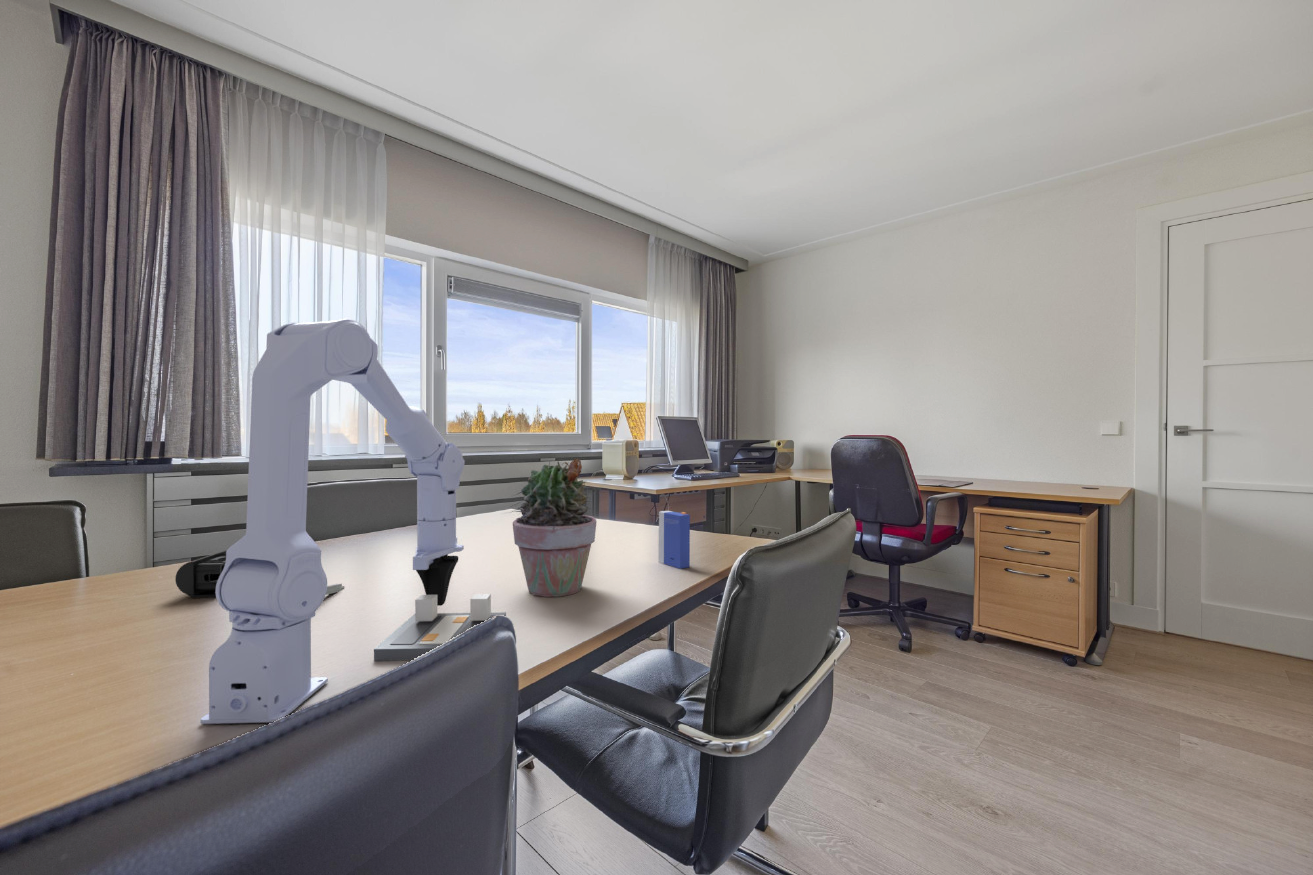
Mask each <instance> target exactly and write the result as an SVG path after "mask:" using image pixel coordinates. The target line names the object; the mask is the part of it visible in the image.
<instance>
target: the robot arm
mask: <svg viewBox="0 0 1313 875" xmlns="http://www.w3.org/2000/svg"><path fill="white" fill-rule="evenodd" d="M265 347H266V348H265V351H264V353H263V354H262V356H261V358H260V359H259V361H258V362H257V365H256V367H255V368H254V370H253V372H252V373H253V374H252V378H251V399H250V400H251V402H250V403H251V404H250V405H251V406H250V426H249V427H250V428H249V429H250V430H249V451H248V452H249V457H248V476H247V477H248V478H247V503H246V504H247V506H246V525H245V526H246V528H245V529H246V530H245V532H246V533H245V534H244V535H243V537H241V538H240V539H239V540H237V541H236V542H235V543H233V544H232V545H231V546H229V548H227V549H226V550H227V551H226V563H225V566H224V569H223V571H222V573H221V575H220V577H219V578H218V581H217V584H216V598H215V599H216V600H217V601H216V602H217V603H218V605H219V606H220V607H221V608H222V609H224V610H225V611H226V612H228V616H229V617H228V619H229V620H228V622H230V623H231V625H232V628H231V632H230V635H229V636H228V638H227V639H226V641H225V642H223V643H222V644H221V645H220V646H218V647H217V649H216V650H215V651H214V652H213V654H212V655H211V658H210V660H209V664H208V713H207V714H205V715H204V716H202V717H201V718H200V724H202V725H208V724H209V725H211V724H214V725H215V724H216V725H218V724H254V723H258V724H260V723H261V724H263V723H273V722H272V721H276V720H278V719H280V718H282V717H285V716H286V715H287V716H288V715H289V714H291V713H292V712H294V711H295V710H296V709H297V708H298V707H299V706H300V705H302V704H303V703H304V702H305V701H306V700H307V699H309V698H310V697H311V696H312V695H313V694H314V693H316V692H317V691H319V689H320V688H322V687H323V686H324V685H325V684H326V683H328V682H329V681H328V677H325V676H323V677H322V676H321V677H315V676H314V677H312V618H315V617H316V612H317V611H318V609H319V608H320V607H321V606H322V603H323V602H324V599H325V597H326V596H327V595H326V591H327V586H328V577H327V574H326V572H325V570H324V568H323V564H322V549H321V548H320V547H319V545H318V544H317V543H316V541H314V539H313V538H312V537H311V535H309V533H308V532H307V530H306V529H307V507H308V506H307V505H308V480H309V479H308V477H309V454H310V453H309V450H310V428H311V427H310V424H311V423H310V422H311V397H312V395H313V394H315V393H316V392H317V391H319V390H320V389H321V388H323V387H324V386H325V385H327V384H328V383H330V382H332V381H338V382H342V383H347V384H349V385H351V386H352V387H354V389H356V390H357V392H358V393H359V394H360V395H361V396H362V397H363V398H364V399H365V400H366V401H367V402H368V403H369V404H370V405H371V406H372V407H373V408H374V409H375V410H376V411H377V412H378V413H379V414H380V415H381V416H382V417H384V419H385V420H386V424H385V432H386V435H388V437H390V438H391V440H392V441H394V443H395V444H396V445H397V446H398V448H400V450H401V451H402V452H403V453H404V457H405V458H406V461H407V468H408V471H409V473H410V474H411V475H412V476H414V477H415V478H416V482H417V483H416V501H417V503H416V506H417V507H416V510H417V511H416V517H417V518H416V519H417V520H416V521H417V522H416V536H417V537H416V547H415V555H413V557H412V571H416V573H417V575H418V576H419V578H420V580H421V582H422V585H423V586H422V587H423V588H424V592H425V593H424V594H425V595H437V607H438V606H439V607H441V606H444V604H446V599H447V596H448V590H449V587H450V582H451V579H452V574H453V572H454V570H455V567H456V565H457V564H458V562H459V555H449V554H452V553H457V552H462V551H463V550H464V546H465V545H464V544H458V537H457V490H458V489H459V486H460V484H461V483H460V480H461V476H462V473H463V471H464V468H465V459H464V456H463V453H462V451H461V449H460V448H459V447H457V446H456V444H454V443H451V442H447V441H446V440H445V438H444V437H443V436H442V434H441V433H440V432H439V431H438V430H437V428H436V427H435V426H434V424H433V423H432V422H431V420H430V419H429V418H428V417H427V416H428V414H427V413H426V411H425V410H424V409H421V408H419V407H418V406H417V407H416V406H409V405H408V403H407V402H406V401H405V399H404V398H403V396H402V394H401V393H400V391H399V390H398V388H397V387H396V385H395V383H394V382H393V381H392V379H391V378H390V376H389V375H388V373H387V372H386V370H385V369H384V367H383V365H381V363H380V361H379V360H378V355H379V354H378V353H379V350H378V349H379V346H378V344H377V343H376V342H375V340H373V339H372V337H371V336H370V334H369V332H368V330H367V329H366V328H365V326H364V325H362V323H360V322H359V321H357V320H354V319H351V318H342V319H339V320H338V319H337V320H328V321H315V322H302V323H301V322H288V323H285V324H283V325H280V326H279V327H278V328H276V329H274V330H272V331H270V332H268V333H266V346H265ZM287 716H286V717H287ZM286 717H285V718H286Z"/></svg>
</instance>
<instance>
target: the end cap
mask: <svg viewBox="0 0 1313 875" xmlns="http://www.w3.org/2000/svg"><path fill="white" fill-rule="evenodd" d="M227 550H228V549H225V550H222V551H218V552H215V553H213V554H209V555H206V556H204V557H201V558H197V559H194V560H191V561H188V562H186V563H184V564H182V565H181V566H180V567H179V568H178V569H177V571H176V574H175V580H174V581H175V584H176V586H177V588H178V590H179V591H180V592H181V593H183V594H185V595H187V596H189V597H190V598H191V599H217V598H216V584H217V581H218V578H219V577H220V575H221V573H222V571H223V569H224V566H225V563H226V551H227Z"/></svg>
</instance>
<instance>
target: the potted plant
mask: <svg viewBox="0 0 1313 875" xmlns="http://www.w3.org/2000/svg"><path fill="white" fill-rule="evenodd" d="M564 464H565V466H564V467H562V465H564ZM582 467H583V466H582V461H581V460H580V459H577V458H575V459H573V460H572V461H571V462H570V463H569V462H568V461H565V462H563V463H562V464H560V461H557V465H550V464H549V465H547V464H544V465H542V467H541V470H539V471H537V470H534V469H532V470H531V472H530V476H529V477H528V480H527V484H526V485H525V486H523V488H522V489H521V491H519V492H518V493H515V494H513V495H512V497H514V496H516V495H519V494H522V495H523V496H524V497H523V499H524V500H521V501H519V502H518V503H515V504H513V505H512V506H510V508H511V507H514V506H517V505H518V504H520V503H521V504H520V507H518V508H516V509H514V510H512V511H510V512H507V514H509V513H510V514H511V513H512V512H513V513H514V512H515V513H519V514H518V515H517V516H519V515H520V514H521V516H519V517H517V518H515V519H514V520H513V521H512V531H513V541H514V545H516V546H517V548H518V552H519V555H520V559H521V563H522V568H523V573H524V577H525V578H524V579H525V582H526V585H527V589H528V592H529V594H532V595H533V596H535V597H536V596H537V597H542V598H556V597H557V598H558V597H559V598H560V597H565V596H571V595H574V594H576V593H579V592H580V590H581V589H582V587H583V582H584V578H585V573H586V569H587V564H588V561H589V560H588V559H589V557H590V556H589V555H590V551H591V548H592V544H593V543H595V541H596V540H595V539H596V532H597V531H596V529H597V518H595V517H594V516H591V515H588V513H587V512H588V510H590V509H592V508H591V507H590V508H589V506H588V505H587V507H586V506H583V505H584V504H586V503H587V502H589V503H591V501H589V500H587V499H590V496H587V495H586V491H585V489H591V487H589V486H586V481H584V480H583V479H581V480H578V479H579V478H580V474H581V473H582ZM593 489H595V490H597V489H598V488H596V487H595V488H594V487H593ZM601 490H604V489H602V488H601ZM502 514H504V515H505V512H504V513H502Z"/></svg>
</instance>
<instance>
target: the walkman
mask: <svg viewBox="0 0 1313 875" xmlns="http://www.w3.org/2000/svg"><path fill="white" fill-rule="evenodd" d="M690 516H691V515H690V514H688V513H687V512H684V511H681V512H677V511H671V510H661V511H658V563H661V564H663V565H667V566H670V567H673V568H676V569H680V570H681V569H687V568H690V564H691V562H690V560H691V559H690V558H691V557H690V554H691V552H690V551H691V550H690V549H691V548H690V547H691V546H690V545H691V543H690V542H691V538H690V537H691V535H690V534H691V528H690V527H691V524H690V523H691V517H690Z"/></svg>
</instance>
